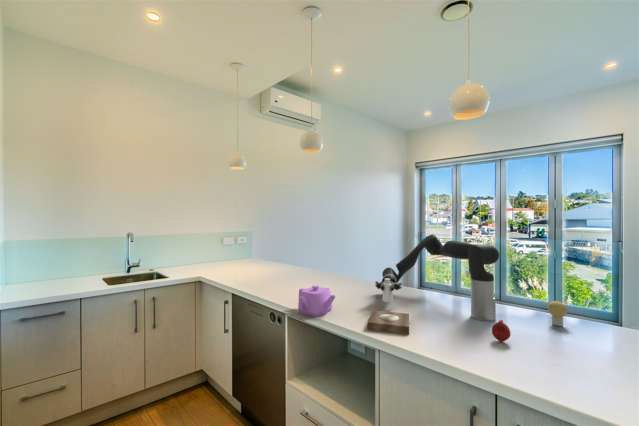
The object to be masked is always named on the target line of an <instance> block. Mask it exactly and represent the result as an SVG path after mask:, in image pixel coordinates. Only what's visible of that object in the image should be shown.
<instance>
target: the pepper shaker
mask: <svg viewBox="0 0 639 426" xmlns="http://www.w3.org/2000/svg"><path fill="white" fill-rule="evenodd" d="M381 296H382V299H381V301H382V302H384V303H393V301H394V297H393V291H391V284H390V279H389V278H385V283H384V290H383V291H382V295H381Z"/></svg>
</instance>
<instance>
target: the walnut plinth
mask: <svg viewBox="0 0 639 426" xmlns="http://www.w3.org/2000/svg"><path fill="white" fill-rule="evenodd" d="M367 331H375V332H384V333H385V332H386V333H393V334H402V335H410V314H409V313H406V312H395V311H385V310H384V311H383V310H374V309H372V310H371V313H370V315H369V318H368V321H367Z"/></svg>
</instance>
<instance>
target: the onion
mask: <svg viewBox="0 0 639 426" xmlns="http://www.w3.org/2000/svg"><path fill="white" fill-rule="evenodd" d="M491 334H492V335H493V337H494V339H496V340H497V342H500V343H503V342H505V341H507V340H509V339H510V337H511V330H510V328H509V326H508V325H507V324H506V323H504V321H503V320H502V319H499V320H498V321H497V322H496V323H494V324H493V325H492V327H491Z"/></svg>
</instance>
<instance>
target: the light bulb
mask: <svg viewBox="0 0 639 426" xmlns="http://www.w3.org/2000/svg"><path fill="white" fill-rule="evenodd" d="M547 310H548V313H549V314H550V315H551V324H552V325H554V326H556V327H563V326H564V317H565V316H566V315H567V314H568V308H567V306H566V305H565V303H563V302H561V301H559V300H552V301H550V302H549V303H548V305H547Z"/></svg>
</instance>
